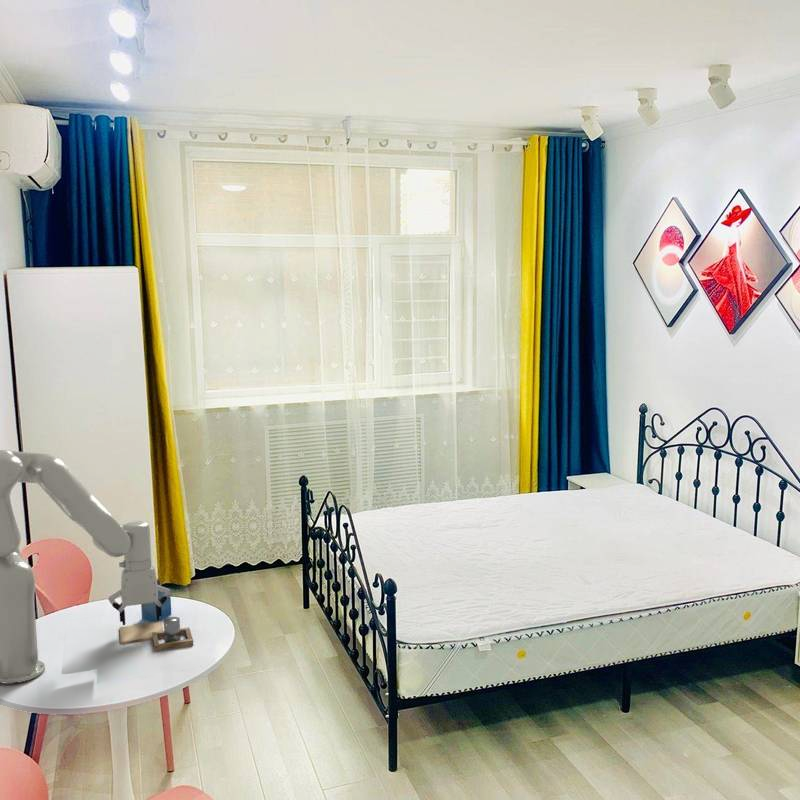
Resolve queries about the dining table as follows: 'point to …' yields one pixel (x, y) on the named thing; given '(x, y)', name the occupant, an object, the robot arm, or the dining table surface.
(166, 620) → the peg
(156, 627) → the mat
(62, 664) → the dining table surface
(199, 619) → the dining table surface
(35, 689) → the dining table surface
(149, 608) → the perfume bottle
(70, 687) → the dining table surface
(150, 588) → the robot arm
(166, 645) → the collar
